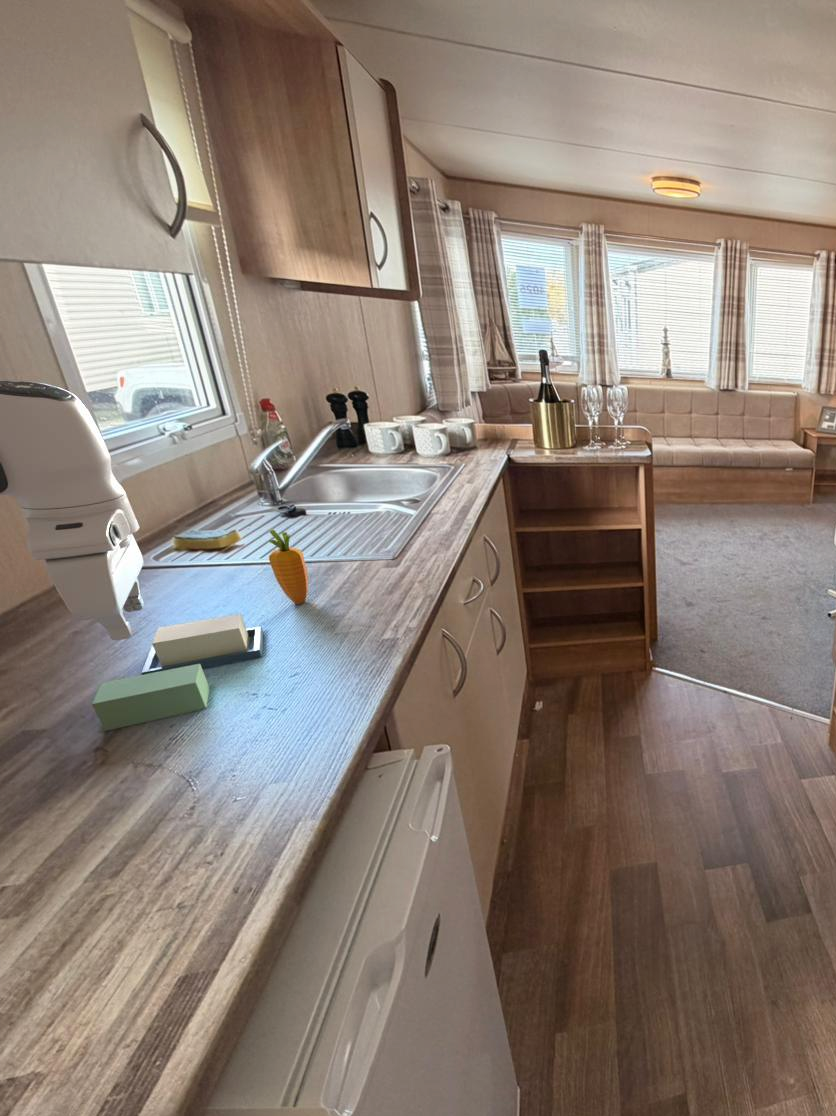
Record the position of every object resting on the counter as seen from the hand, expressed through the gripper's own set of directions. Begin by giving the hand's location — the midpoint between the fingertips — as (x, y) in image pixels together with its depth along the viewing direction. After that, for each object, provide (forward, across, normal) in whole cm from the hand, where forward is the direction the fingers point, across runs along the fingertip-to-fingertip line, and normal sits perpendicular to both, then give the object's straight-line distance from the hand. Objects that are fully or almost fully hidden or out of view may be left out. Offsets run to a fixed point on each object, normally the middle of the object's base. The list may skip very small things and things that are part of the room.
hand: (129, 622), depth 83 cm
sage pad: (+14, +1, 0) cm, 14 cm away
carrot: (+14, -30, +16) cm, 37 cm away
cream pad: (+13, -14, +4) cm, 20 cm away
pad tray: (+14, -14, +4) cm, 20 cm away
